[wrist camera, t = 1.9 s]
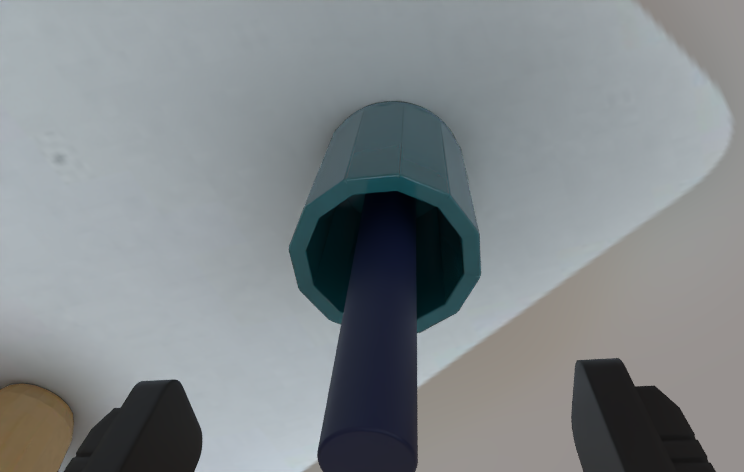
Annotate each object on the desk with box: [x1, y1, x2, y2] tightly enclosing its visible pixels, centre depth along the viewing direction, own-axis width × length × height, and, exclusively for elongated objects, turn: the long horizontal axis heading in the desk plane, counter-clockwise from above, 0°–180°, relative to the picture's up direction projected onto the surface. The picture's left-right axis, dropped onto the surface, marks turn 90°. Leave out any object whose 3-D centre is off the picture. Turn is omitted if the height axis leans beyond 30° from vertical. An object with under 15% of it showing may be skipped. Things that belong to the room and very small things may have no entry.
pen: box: [317, 191, 418, 472], centre depth 15 cm, size 2×2×13 cm
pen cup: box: [289, 101, 481, 333], centre depth 18 cm, size 5×5×7 cm
